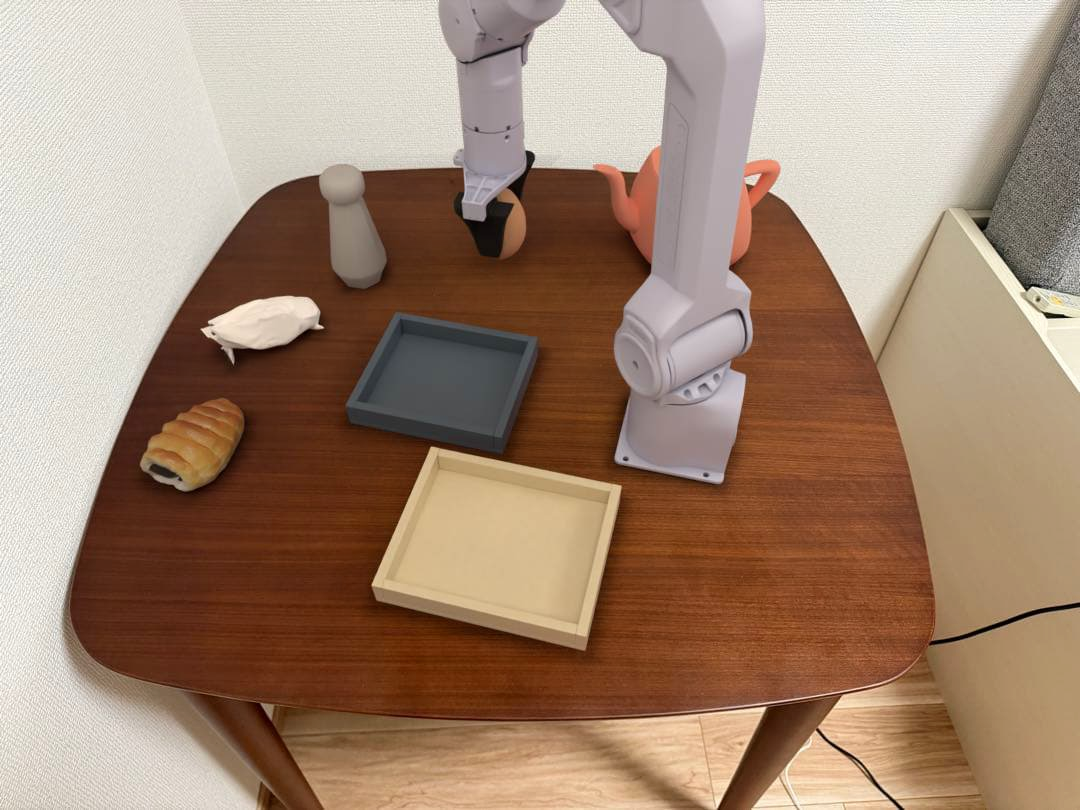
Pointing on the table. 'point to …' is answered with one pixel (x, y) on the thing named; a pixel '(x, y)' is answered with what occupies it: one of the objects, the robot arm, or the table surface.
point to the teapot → (643, 199)
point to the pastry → (195, 445)
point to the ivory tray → (501, 547)
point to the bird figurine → (264, 323)
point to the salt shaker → (351, 228)
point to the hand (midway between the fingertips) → (499, 236)
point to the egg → (512, 225)
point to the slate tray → (445, 382)
